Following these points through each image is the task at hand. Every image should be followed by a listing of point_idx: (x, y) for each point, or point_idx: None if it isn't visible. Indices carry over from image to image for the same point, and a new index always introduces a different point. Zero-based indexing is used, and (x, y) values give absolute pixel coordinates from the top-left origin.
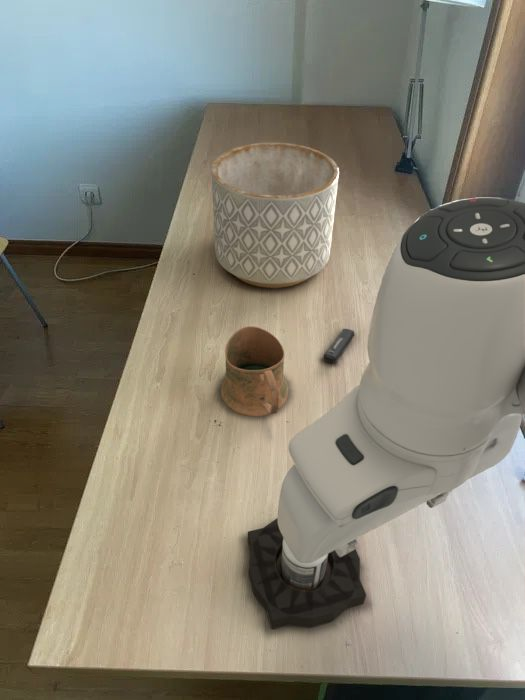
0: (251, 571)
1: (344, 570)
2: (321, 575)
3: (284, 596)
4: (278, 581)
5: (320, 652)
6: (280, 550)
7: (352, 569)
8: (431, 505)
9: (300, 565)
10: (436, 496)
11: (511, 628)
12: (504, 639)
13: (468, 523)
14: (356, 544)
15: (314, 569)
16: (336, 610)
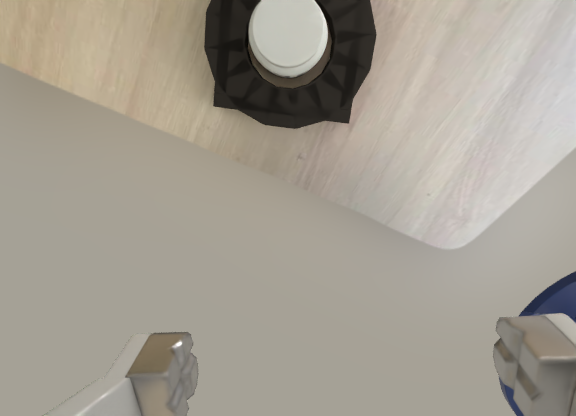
0: (207, 23)
1: (339, 78)
2: (302, 74)
3: (240, 81)
4: (240, 55)
5: (265, 153)
6: None
7: (350, 81)
8: (501, 375)
9: (264, 66)
10: (542, 413)
11: (489, 214)
12: (472, 220)
13: (559, 72)
14: (186, 412)
15: (286, 76)
16: (300, 126)
